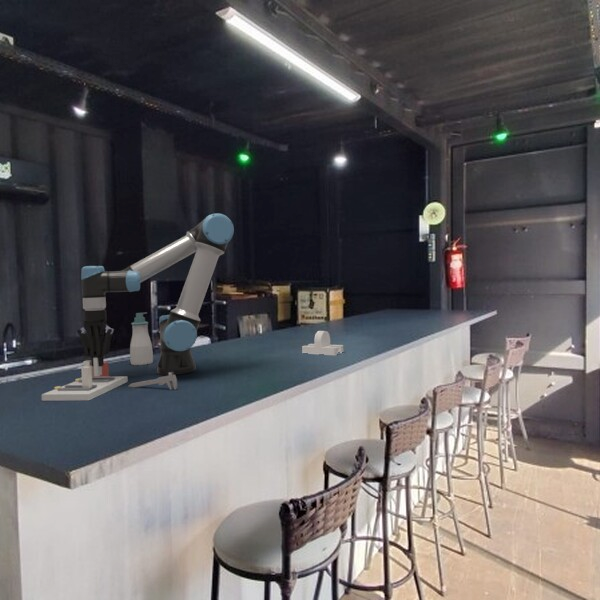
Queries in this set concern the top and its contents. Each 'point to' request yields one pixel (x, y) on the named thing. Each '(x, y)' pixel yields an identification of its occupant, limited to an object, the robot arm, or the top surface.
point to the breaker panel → (84, 389)
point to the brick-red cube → (103, 370)
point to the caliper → (159, 381)
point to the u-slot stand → (322, 345)
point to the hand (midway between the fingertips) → (98, 375)
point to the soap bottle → (140, 342)
